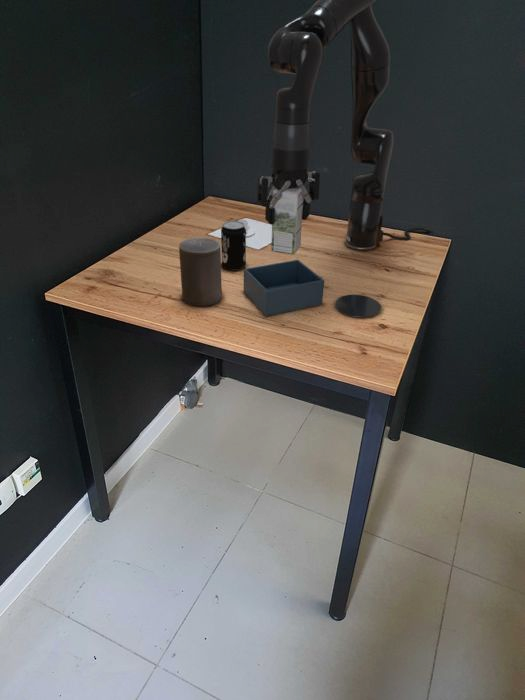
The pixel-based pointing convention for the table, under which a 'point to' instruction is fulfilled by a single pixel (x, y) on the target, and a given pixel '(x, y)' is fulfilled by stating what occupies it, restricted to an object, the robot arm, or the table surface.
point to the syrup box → (287, 222)
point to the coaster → (358, 306)
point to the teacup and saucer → (253, 233)
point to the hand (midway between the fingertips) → (287, 221)
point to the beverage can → (233, 245)
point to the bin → (283, 287)
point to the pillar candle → (200, 271)
